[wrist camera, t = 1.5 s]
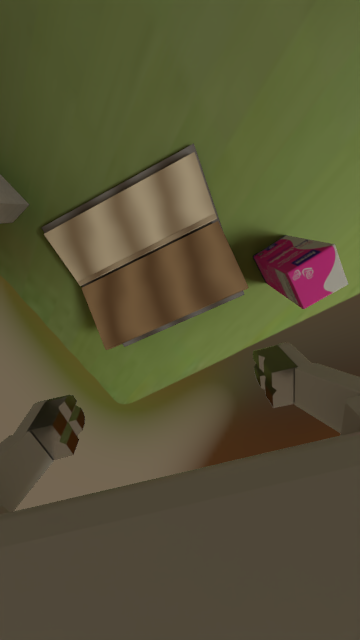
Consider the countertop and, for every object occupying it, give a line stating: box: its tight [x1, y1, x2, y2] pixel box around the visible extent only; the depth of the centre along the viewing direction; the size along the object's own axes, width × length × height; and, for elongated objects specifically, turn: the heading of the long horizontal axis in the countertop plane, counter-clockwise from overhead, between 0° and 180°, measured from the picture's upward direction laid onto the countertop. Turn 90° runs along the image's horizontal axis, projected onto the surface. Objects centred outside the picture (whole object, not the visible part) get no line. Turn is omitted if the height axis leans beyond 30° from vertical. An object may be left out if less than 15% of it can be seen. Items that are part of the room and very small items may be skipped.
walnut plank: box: [82, 221, 248, 350], centre depth 31 cm, size 22×10×2 cm, turn 115°
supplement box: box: [253, 235, 348, 309], centre depth 30 cm, size 6×6×12 cm
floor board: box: [42, 144, 244, 347], centre depth 33 cm, size 23×22×3 cm
